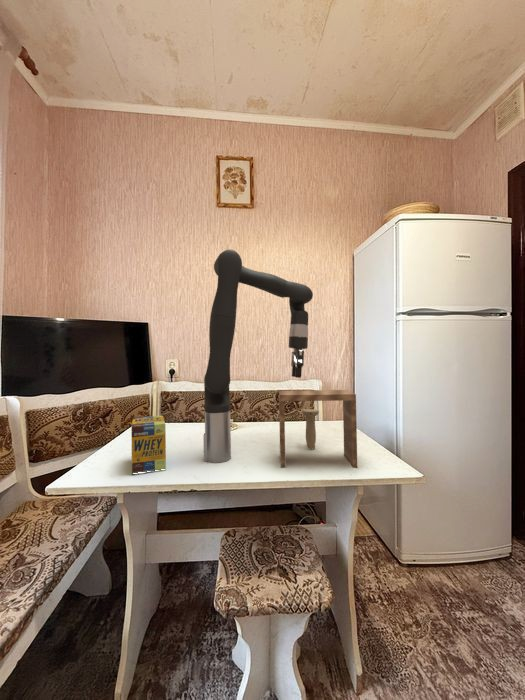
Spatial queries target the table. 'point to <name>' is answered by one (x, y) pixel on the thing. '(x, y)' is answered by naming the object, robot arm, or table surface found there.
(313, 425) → the handle
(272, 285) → the robot arm
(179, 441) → the table surface
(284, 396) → the shelf
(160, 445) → the protein box
